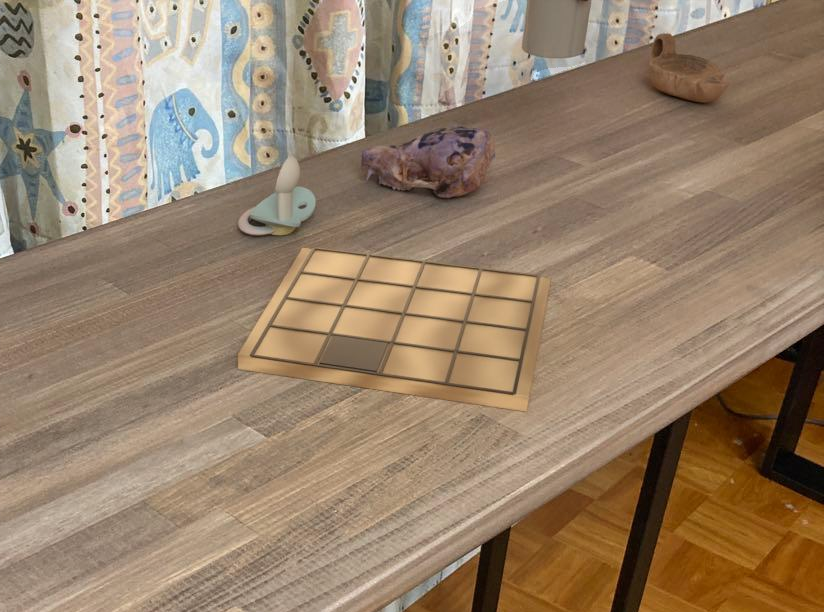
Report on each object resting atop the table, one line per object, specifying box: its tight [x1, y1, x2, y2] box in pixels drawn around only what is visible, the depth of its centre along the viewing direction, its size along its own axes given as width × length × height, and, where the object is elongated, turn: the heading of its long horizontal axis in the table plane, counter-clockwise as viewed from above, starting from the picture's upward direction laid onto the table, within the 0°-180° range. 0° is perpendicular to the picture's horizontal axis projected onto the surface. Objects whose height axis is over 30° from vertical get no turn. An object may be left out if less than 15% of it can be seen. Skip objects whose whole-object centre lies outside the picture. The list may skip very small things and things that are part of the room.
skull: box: [360, 125, 496, 199], centre depth 103 cm, size 12×8×6 cm, turn 68°
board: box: [237, 246, 552, 412], centre depth 83 cm, size 20×18×1 cm
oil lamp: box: [648, 32, 730, 103], centre depth 125 cm, size 13×8×5 cm, turn 12°
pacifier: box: [237, 155, 317, 236], centre depth 95 cm, size 7×6×6 cm
